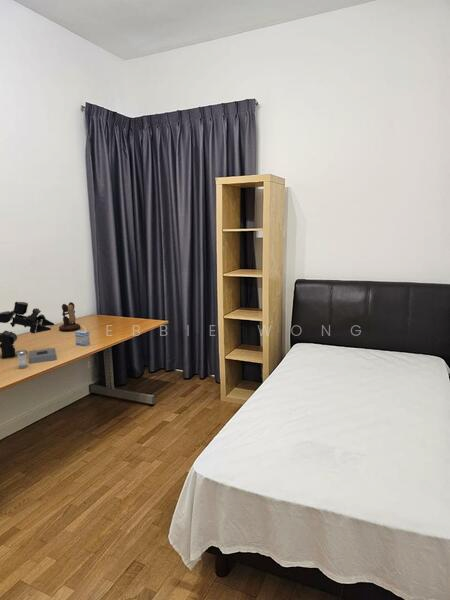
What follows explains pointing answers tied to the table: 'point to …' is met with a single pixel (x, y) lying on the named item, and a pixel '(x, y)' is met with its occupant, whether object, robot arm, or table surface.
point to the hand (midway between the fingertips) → (52, 326)
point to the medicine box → (82, 338)
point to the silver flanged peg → (22, 358)
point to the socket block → (42, 355)
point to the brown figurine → (69, 322)
